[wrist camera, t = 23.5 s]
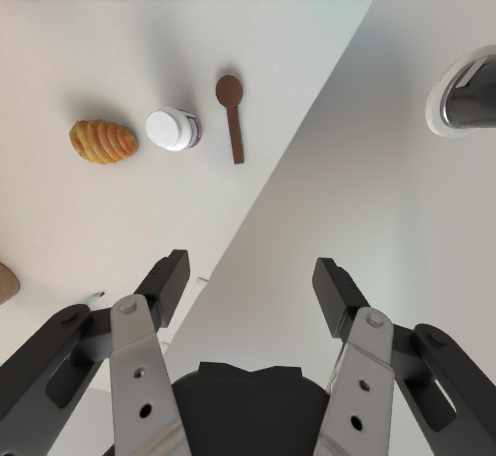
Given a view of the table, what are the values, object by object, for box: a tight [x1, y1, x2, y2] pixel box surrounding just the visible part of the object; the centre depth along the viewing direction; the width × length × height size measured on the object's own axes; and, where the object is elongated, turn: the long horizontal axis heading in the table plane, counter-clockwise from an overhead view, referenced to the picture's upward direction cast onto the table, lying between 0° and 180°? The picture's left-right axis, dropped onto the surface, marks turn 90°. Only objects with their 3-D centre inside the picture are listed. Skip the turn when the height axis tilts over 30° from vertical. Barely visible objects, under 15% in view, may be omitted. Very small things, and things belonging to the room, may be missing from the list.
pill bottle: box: [146, 107, 202, 151], centre depth 27 cm, size 5×5×10 cm
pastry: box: [69, 119, 138, 164], centre depth 31 cm, size 9×7×4 cm
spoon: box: [216, 75, 244, 164], centre depth 30 cm, size 4×12×1 cm, turn 7°
